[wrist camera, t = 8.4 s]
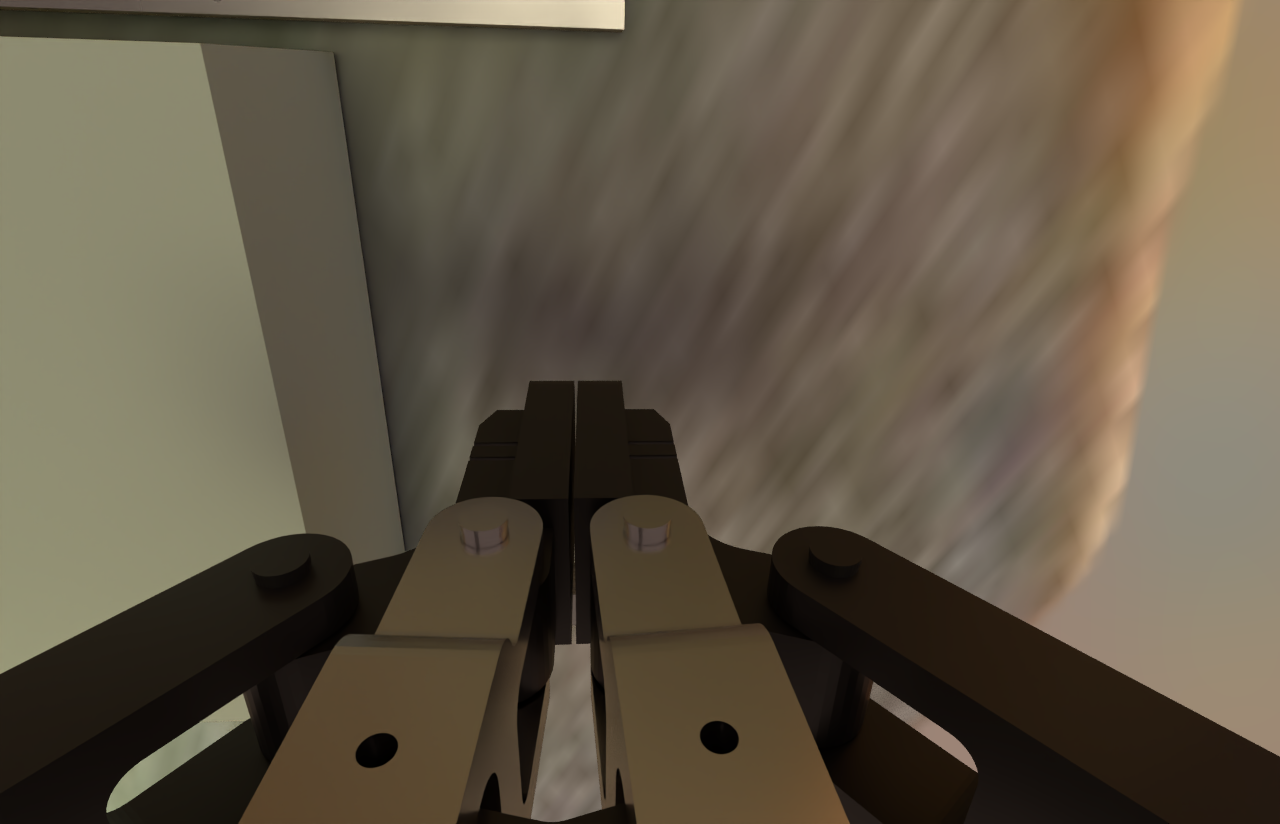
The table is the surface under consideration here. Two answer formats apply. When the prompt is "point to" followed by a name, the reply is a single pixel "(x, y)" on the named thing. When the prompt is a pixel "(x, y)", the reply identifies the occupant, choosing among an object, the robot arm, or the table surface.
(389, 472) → the sliding jaw
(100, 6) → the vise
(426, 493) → the table surface
